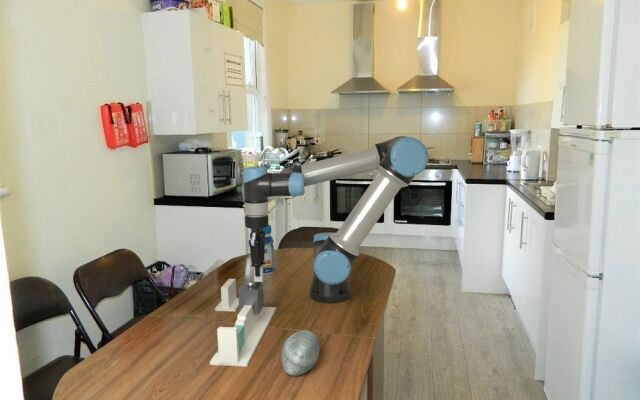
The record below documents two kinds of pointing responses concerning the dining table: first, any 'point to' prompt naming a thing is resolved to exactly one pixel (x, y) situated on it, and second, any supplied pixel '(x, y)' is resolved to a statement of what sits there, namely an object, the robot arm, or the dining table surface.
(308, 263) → the dining table surface
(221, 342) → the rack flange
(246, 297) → the grey cube with knob
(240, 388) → the dining table surface
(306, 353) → the grey streaked ovoid
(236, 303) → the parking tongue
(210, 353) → the dining table surface
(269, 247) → the beverage bottle
